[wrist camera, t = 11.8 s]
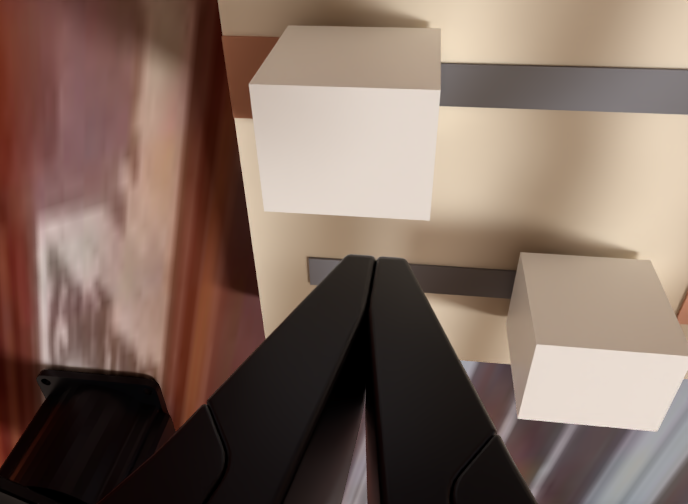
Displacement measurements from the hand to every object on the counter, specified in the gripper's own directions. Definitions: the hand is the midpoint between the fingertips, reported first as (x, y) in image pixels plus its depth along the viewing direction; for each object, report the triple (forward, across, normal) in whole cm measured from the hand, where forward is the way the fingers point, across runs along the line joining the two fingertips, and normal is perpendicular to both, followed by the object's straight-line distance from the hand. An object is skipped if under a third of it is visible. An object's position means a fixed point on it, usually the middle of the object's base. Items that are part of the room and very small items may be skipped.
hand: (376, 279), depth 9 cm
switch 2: (+9, -6, +8) cm, 13 cm away
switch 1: (+9, +1, +1) cm, 9 cm away
